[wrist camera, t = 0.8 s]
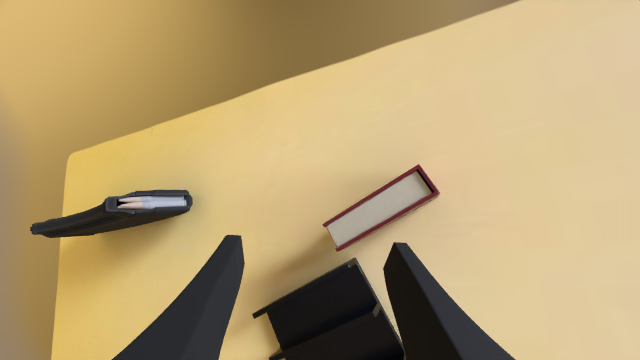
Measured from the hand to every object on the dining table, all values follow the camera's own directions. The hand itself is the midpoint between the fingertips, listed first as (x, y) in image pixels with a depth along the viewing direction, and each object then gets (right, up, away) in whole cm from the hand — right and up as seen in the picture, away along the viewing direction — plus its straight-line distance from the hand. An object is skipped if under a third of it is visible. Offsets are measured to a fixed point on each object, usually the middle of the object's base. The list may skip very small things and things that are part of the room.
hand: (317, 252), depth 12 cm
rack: (+2, -16, +16) cm, 22 cm away
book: (+8, 0, +15) cm, 17 cm away
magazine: (-32, -3, +33) cm, 46 cm away
